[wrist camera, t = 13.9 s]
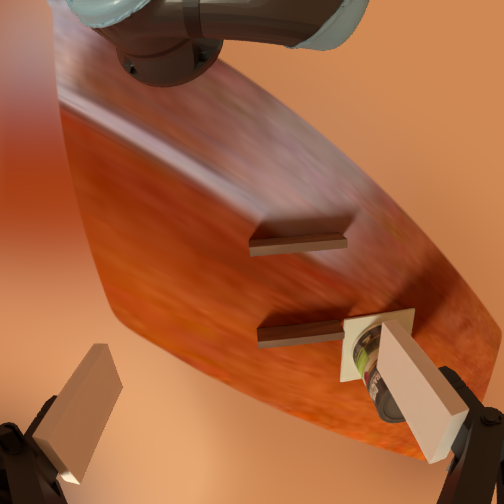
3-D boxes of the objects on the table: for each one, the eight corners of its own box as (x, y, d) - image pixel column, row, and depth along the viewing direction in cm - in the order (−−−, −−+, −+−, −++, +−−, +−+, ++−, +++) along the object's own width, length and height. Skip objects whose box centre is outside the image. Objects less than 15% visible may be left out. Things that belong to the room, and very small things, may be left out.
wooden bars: (248, 239, 45) (249, 247, 41) (338, 232, 45) (347, 239, 41) (257, 334, 49) (258, 348, 45) (337, 325, 49) (344, 338, 45)
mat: (344, 318, 49) (344, 320, 48) (413, 307, 49) (415, 309, 48) (339, 380, 53) (340, 382, 52) (403, 367, 53) (404, 369, 52)
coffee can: (347, 374, 52) (371, 429, 38) (354, 324, 49) (386, 376, 35) (398, 366, 52) (430, 415, 38) (409, 318, 49) (450, 363, 35)
